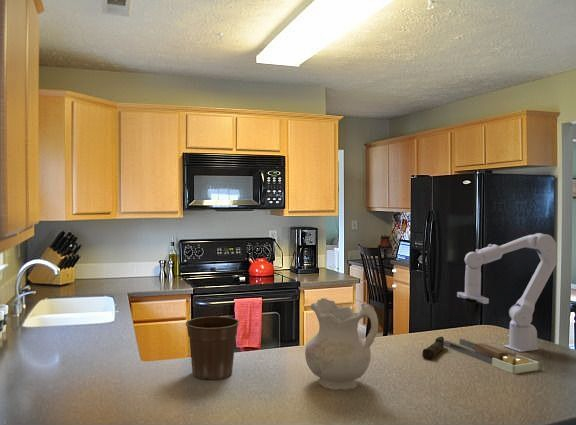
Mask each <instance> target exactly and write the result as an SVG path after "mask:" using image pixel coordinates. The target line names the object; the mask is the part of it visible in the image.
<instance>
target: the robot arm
mask: <svg viewBox="0 0 576 425" xmlns="http://www.w3.org/2000/svg"><path fill="white" fill-rule="evenodd" d="M557 246H558V244H557V243H556V241H555V239H554V238H553V236H552V235H550V234H547V233H545V234H544V233H541V232H536V233H534V234H528V235H525V236H522V237H520V238H516V239H514V240H512V241H509V242H507V243H505V244H501V245H497V244H492V243H489V244H487V246H486V247H483V248H481V249H479V248H476V249H475V251H469V252H468V253H466V254H465V257H464V259H463V261H464V263H465V270H464V271H465V274H464V292H463V291H457V292H456V297H457V298H461V299H463V300H462V304H463V306H464V307H465V310H466V312H467V313H466V314H467V316H468V317H467V318H468V320H476V317H477V313H478V311H479V309H480V307H481V306H482V305H484V304H485V305H487V304H489V303H490V299H489V298H488V297H485V296H483V295H482V294H481V293H482V291H481V290H482V272H481V271H482V268H481V267H482V265H486V264H489V263H492V262H494V261H498V260H500V259H502V257H503V255H505V254H507V253H510V252H513V251H518V250H520V249H523V248H526V249H534V250H535V251H536V253H537V254H538V257H539V259H540V262H539V263H538V264H537V267H536V269H535V271H534V273H533V274H532V276H531V278H530V280H529V282H528V284H527V286H526V288H525V290H524V291H523V294H522V295H521V296H520V298H519V299H518V300H517V301H516V303H515V304H513V305H512V306H511V307H510V308H509V310H508V315H509V318H510V319H511V320H510V322H509V336H508V337H509V338H508V339H509V340H508V341H509V342H508V344H504V345H503V347H504V348H506V349H510V350H512V351H517V352H520V353H522V352H529V351H530V352H531V351H536V350H537V351H538V350H539V347H538V346H537V344H538V331H537V329H536V326H534V325H533V324H531V323H532V322H533V314H534V312H535V305H536V303H537V301H538V299H539V297H540V295H541V294H542V292H543V289H544V288H545V286H546V284H547V282H548V280H549V278H550V276H551V275H552V273H553V271H554V269H555V267H556V266H557V263H558V254H557V253H558V252H557V248H558V247H557Z"/></svg>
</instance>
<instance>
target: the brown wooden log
mask: <svg viewBox="0 0 576 425" xmlns="http://www.w3.org/2000/svg"><path fill="white" fill-rule="evenodd" d="M444 341H445V338H444V336H438V337H436V338H435V341H434V342H433V343H432V344H430V345H429V346H428V347H427V348H423V350H422V355H421V356H422V358H423V359H425V360H427V361H428V360H434V358H435V356H436V355H437V354H438V353H439V352H443V350H444V347H445V346H444Z"/></svg>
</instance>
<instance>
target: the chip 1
mask: <svg viewBox="0 0 576 425" xmlns="http://www.w3.org/2000/svg"><path fill="white" fill-rule="evenodd" d="M515 358H516V356H514V355H510V354H508V355H503V356H502V361H504V362H507V363H509V364H512V365H515Z"/></svg>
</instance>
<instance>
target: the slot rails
mask: <svg viewBox="0 0 576 425" xmlns="http://www.w3.org/2000/svg"><path fill="white" fill-rule="evenodd" d="M475 344H477V343H476V342H473V341H470V340H468V339H464V338H460V339H459V343H455V342H453V341H451V340H444V347H447V348H450V349H452V350H454V351H457V352H459V353H461V354H465V355H468V356H470V357H473V358H475V359H478V360H481V361H484V362H486V363H489V364H490V365H492V358H493V357H491V356H488V355H485V354H483V353H480V352H477V351H475Z"/></svg>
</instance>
